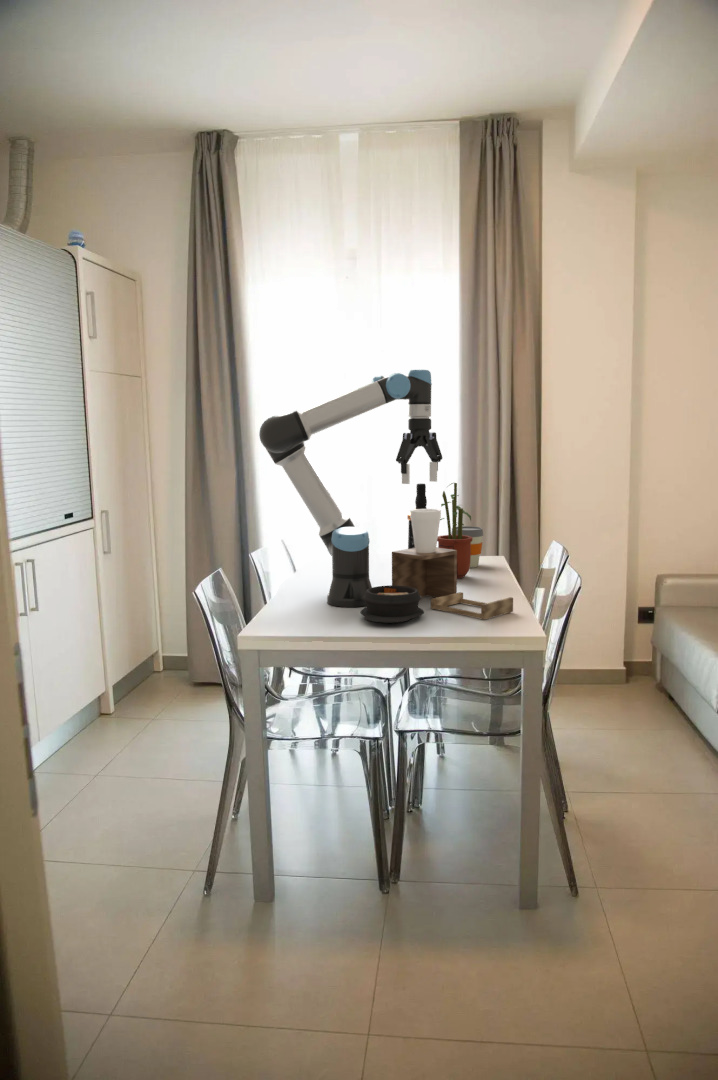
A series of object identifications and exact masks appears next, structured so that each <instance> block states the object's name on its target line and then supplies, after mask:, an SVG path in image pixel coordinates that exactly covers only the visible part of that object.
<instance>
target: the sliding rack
mask: <svg viewBox="0 0 718 1080" xmlns="http://www.w3.org/2000/svg"><path fill="white" fill-rule="evenodd" d="M460 603H461V604H465V605H469V606H475V607H480V609H481V610H480V612H476V611H471V610H466V609H461V608H457V607H452V605H457V604H460ZM430 610H438V611H442V612H447V613H453V614H458V615H463V616H467V617H472V618H476V619H481V620H487V619H491V618H494V617H498V616H501V615H506V614H509V613H513V612H514V597H506V598H503V599H498V600H495V601H490V602H483V601H482V602H481V601H477V600H473V599H466V598H464V592H461V591H460V592H457V593H454V594H450V595H446V596H441V597H432V598H431V599H430Z"/></svg>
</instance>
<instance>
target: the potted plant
mask: <svg viewBox="0 0 718 1080" xmlns="http://www.w3.org/2000/svg"><path fill="white" fill-rule="evenodd" d="M451 485H453V494H450V497H451V498H450V499H452V500H451V501H448V499H447V495H446V492H445V490H443V492H442V494H441V496H442V499H443V503H441V504H440V506H441V508H442V507H443V506H444V507H445V515H446V518H445V517H441V518H440V521H442V520H444V519H446V523H447V532H448V533H447V534H445V535H444V534H443V535H438V538H437V542H438V545H437V548H444V549H452V550H457V580H458V579H459V580H460V579H463V578H464V577H466V575H467V574H468V572H469V571H470V568H469V567H470V559H471V542H472V539H473V537H471V536H465V535H462V526H465V524H464V523H463V521H464V520H463V516H464V514H465V515H466V516H467V517H468V518H469V521H472V516H471V515H470V514H469V513H468V512H467V511H465V510H464V508H463V507H461V505H459V504H458V501H457V500H458V499H457V498H458V497H459V495H460V494H458V483H456V482H452V483H449V485H447V486H446V488H445V489H447V488H448V487H449V486H451ZM450 503H451V512H452V513H451V514H452V517H451V518H452V519H451V518H450V511H449V510H450V509H449V505H448V504H450ZM457 518H458V519H457ZM451 520H452V527H451ZM456 527H458V535H456ZM452 528H453V535H451V532H452Z"/></svg>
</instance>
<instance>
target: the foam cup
mask: <svg viewBox="0 0 718 1080" xmlns="http://www.w3.org/2000/svg"><path fill="white" fill-rule="evenodd" d="M409 511H410V512H409V513H410V518H411V521H412V529H413V537H414V544H415V551H416V552H418V553H433V552H436V547H437V546H438V545H437V542H438V541H437V538H438V536H439V528H440V522H441V520H440V519H442V517H441V516H442V510H440V509H437V508H427V509H416V508H413V509H410V510H409Z"/></svg>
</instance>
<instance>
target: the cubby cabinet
mask: <svg viewBox="0 0 718 1080" xmlns="http://www.w3.org/2000/svg"><path fill="white" fill-rule="evenodd" d="M457 580H458V579H457V550H452V549H444V548H438V546H436V552H433V553H418V552H416V551H415V548H412V549H408V548H407V549H401V550H395V551H392V552H391V585H393V586H407V587H412V588H415V589H417V590H418V593H419V595H420V596H421V598H422V597H426V596H428V597H432V598H437V597H441V596H446V595H450V594H454V593H458V592H457V591H458V590H457V587H458V585H457V584H458V581H457Z"/></svg>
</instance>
